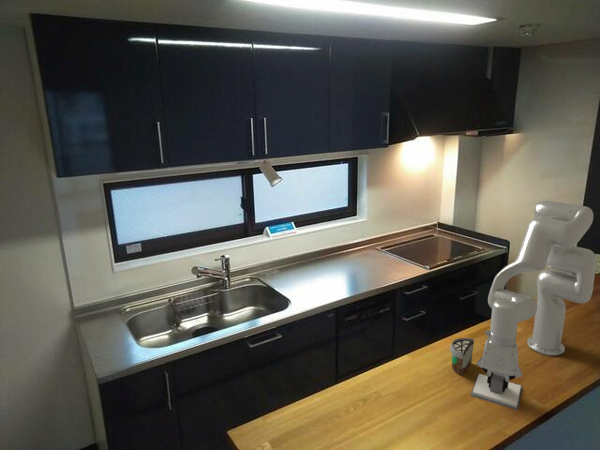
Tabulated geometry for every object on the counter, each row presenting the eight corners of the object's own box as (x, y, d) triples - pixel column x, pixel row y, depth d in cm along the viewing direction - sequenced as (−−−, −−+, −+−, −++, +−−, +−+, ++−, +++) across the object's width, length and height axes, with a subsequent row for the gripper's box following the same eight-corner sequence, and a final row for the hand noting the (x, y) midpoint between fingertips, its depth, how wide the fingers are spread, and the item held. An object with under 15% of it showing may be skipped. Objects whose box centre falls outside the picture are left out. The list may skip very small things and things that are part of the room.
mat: (477, 375, 149) (477, 374, 149) (522, 388, 142) (522, 386, 141) (470, 397, 138) (470, 395, 138) (517, 412, 131) (518, 410, 131)
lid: (478, 376, 148) (480, 362, 146) (520, 388, 141) (522, 373, 139) (472, 394, 139) (473, 379, 137) (516, 407, 132) (518, 392, 130)
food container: (455, 357, 160) (457, 333, 157) (472, 362, 156) (474, 338, 154) (443, 373, 151) (444, 348, 148) (460, 379, 147) (462, 354, 145)
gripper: (472, 336, 136) (468, 385, 141) (530, 350, 127) (524, 402, 132) (477, 326, 142) (472, 373, 147) (532, 339, 133) (526, 388, 138)
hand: (497, 386), depth 139 cm, fingers closed on lid, 3 cm apart
